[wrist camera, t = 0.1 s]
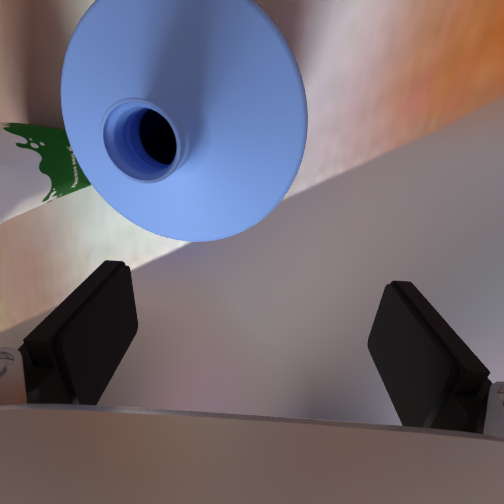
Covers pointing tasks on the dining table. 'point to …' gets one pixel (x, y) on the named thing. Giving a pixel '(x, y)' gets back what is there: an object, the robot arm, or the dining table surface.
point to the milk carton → (35, 167)
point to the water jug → (184, 113)
